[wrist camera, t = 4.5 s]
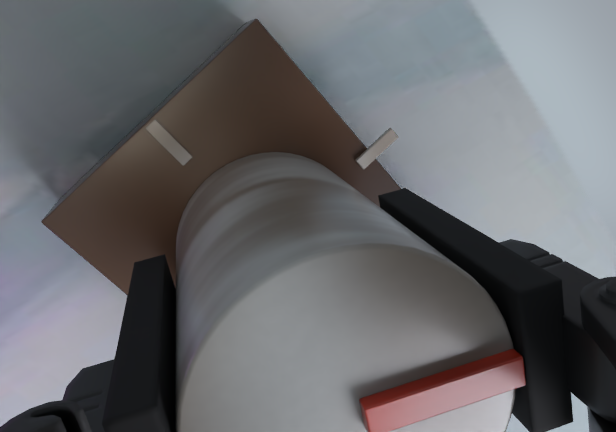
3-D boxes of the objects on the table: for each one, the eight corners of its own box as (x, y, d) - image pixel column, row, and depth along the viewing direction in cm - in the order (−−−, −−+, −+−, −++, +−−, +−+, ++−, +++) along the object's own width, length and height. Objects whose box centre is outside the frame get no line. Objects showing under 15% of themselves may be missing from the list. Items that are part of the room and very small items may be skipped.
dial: (204, 354, 17) (230, 622, 9) (151, 179, 16) (123, 317, 7) (376, 301, 18) (542, 505, 10) (344, 130, 17) (511, 206, 8)
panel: (37, 220, 18) (14, 246, 15) (267, 2, 18) (282, -7, 15) (255, 403, 21) (266, 450, 19) (450, 223, 21) (487, 246, 18)
